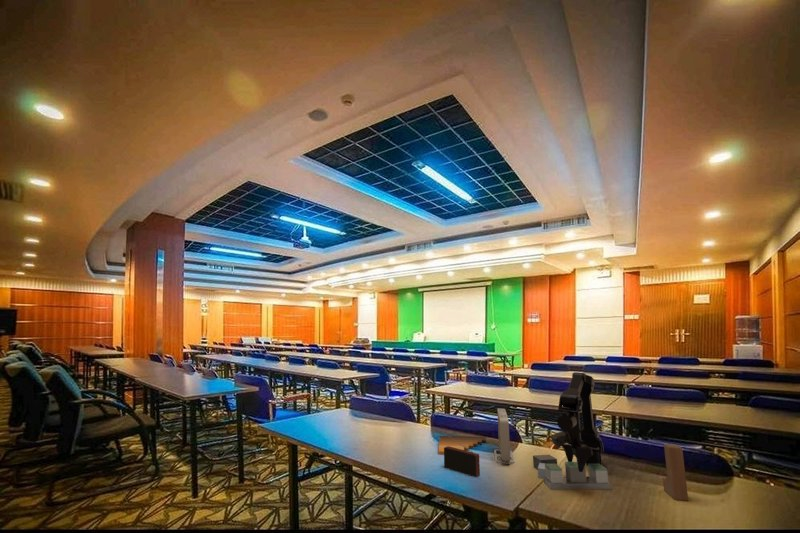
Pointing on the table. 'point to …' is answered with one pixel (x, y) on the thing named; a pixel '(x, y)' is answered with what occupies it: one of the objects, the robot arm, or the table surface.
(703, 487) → the table surface
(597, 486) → the rail
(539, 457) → the loose grey block
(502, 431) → the network device
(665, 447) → the wooden block
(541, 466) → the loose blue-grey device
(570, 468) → the block
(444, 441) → the pan flute
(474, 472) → the radio
